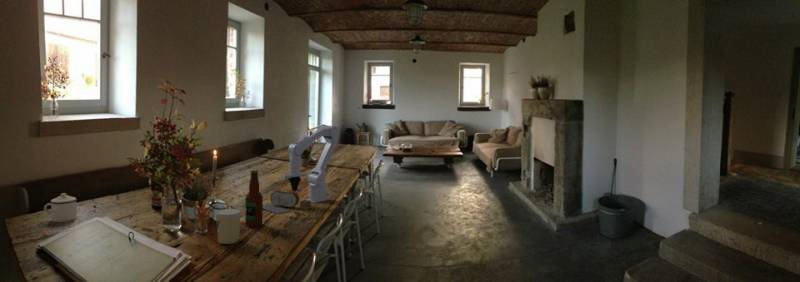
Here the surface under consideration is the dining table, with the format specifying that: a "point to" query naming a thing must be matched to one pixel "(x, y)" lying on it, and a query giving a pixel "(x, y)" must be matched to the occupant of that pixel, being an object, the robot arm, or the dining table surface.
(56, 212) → the teacup with lid
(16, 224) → the dining table surface
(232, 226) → the coffee cup
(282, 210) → the mat
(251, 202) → the bottle
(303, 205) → the walnut block
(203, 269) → the dining table surface
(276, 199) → the tin
